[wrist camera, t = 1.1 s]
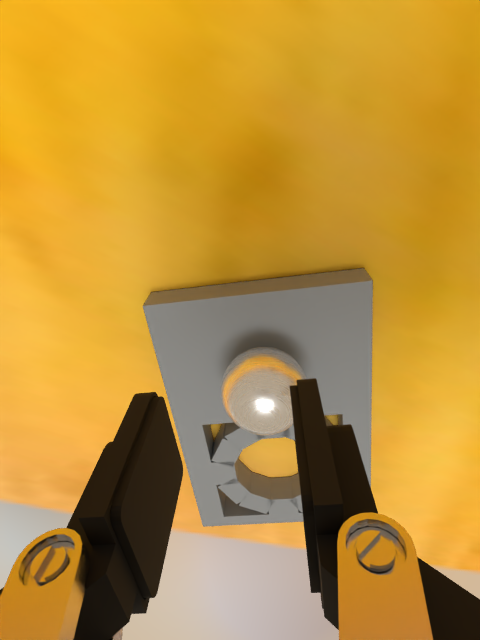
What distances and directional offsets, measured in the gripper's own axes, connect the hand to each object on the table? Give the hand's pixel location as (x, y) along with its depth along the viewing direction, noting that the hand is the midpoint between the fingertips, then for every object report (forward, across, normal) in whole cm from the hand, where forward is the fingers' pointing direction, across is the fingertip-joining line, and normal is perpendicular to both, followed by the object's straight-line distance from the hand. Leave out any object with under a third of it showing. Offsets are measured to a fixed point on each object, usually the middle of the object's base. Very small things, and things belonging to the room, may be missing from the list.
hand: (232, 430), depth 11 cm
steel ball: (+14, 0, +9) cm, 16 cm away
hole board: (+19, 0, +15) cm, 24 cm away
